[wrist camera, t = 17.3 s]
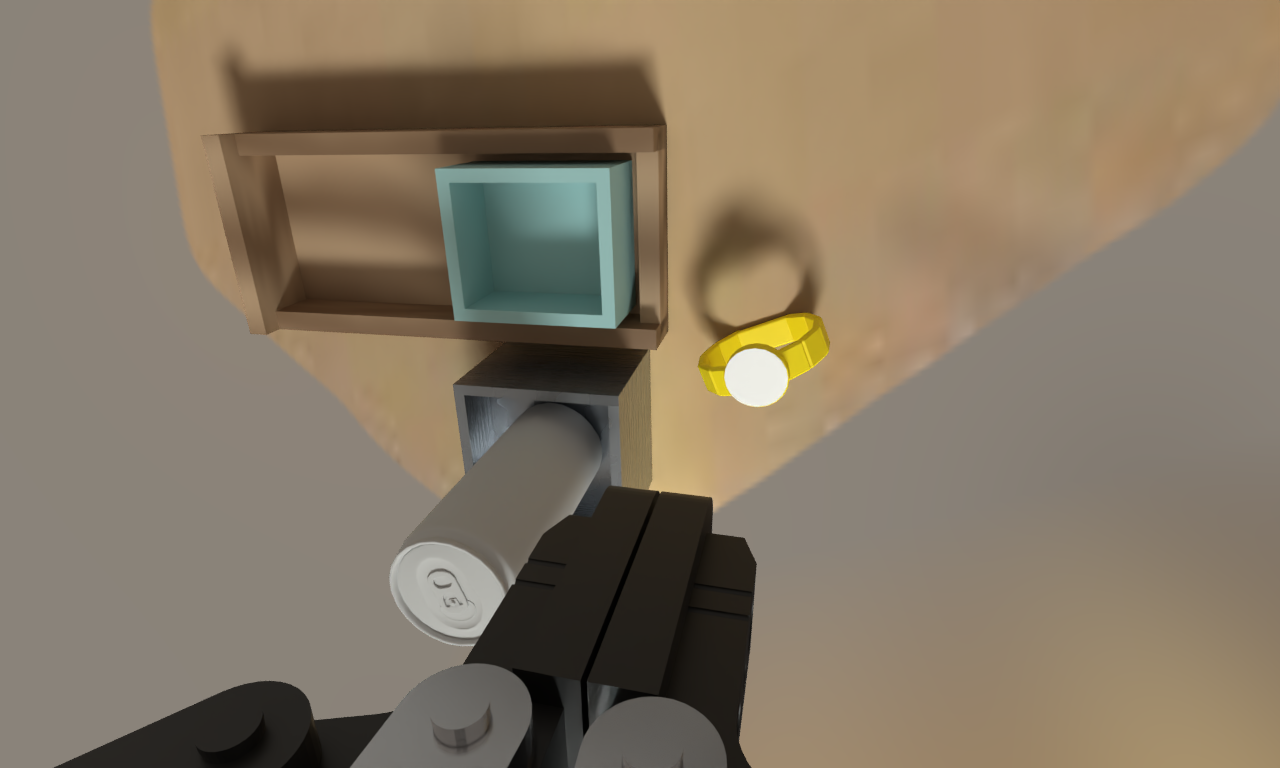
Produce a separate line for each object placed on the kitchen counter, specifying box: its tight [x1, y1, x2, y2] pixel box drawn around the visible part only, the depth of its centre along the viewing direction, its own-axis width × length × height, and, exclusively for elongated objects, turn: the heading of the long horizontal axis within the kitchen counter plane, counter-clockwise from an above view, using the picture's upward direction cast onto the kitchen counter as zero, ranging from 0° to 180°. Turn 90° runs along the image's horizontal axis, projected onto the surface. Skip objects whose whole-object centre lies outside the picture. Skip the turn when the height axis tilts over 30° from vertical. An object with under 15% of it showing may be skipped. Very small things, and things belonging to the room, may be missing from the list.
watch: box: [698, 313, 830, 407], centre depth 32 cm, size 6×3×6 cm, turn 113°
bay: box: [201, 125, 668, 350], centre depth 34 cm, size 10×22×4 cm, turn 91°
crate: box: [435, 160, 636, 329], centre depth 33 cm, size 7×8×4 cm
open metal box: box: [453, 342, 652, 517], centre depth 36 cm, size 8×8×6 cm
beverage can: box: [389, 403, 602, 646], centre depth 30 cm, size 5×5×12 cm
